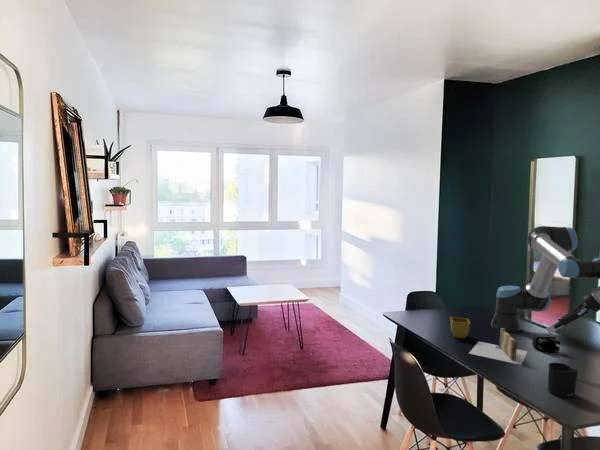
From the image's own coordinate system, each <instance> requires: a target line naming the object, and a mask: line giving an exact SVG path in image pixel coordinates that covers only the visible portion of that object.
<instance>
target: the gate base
mask: <svg viewBox="0 0 600 450" xmlns="http://www.w3.org/2000/svg"><path fill="white" fill-rule="evenodd" d="M527 353H528V350H523V349H518V348H517V350H516V360H512V359H511V358H510V357H509V356H508V355H507V354H506V353H505V352H504V350H503V349H502V348H501V347H499V345H498V344H493V343H488V342H483V341H477V342H476V344H475V345H474V346H473V347H472V349H471V350H470V351H469V352H468V355H469V354H470V355H475V356H477V357H478V356H479V357H484V358H488V359H493V360H497V361H502V362H507V363H510V364H516V365H523V363H524V360H525V358H526V356H527Z"/></svg>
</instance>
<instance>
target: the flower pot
mask: <svg viewBox="0 0 600 450" xmlns="http://www.w3.org/2000/svg"><path fill="white" fill-rule="evenodd" d="M449 320H450V331H451V333H452V336H453V338H456V339H466V337H467V336H468V334H469V331H470V327H471V322H470V320H469V319H468V318H464V317H456V316H455V317H454V316H450V318H449Z"/></svg>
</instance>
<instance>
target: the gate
mask: <svg viewBox="0 0 600 450" xmlns="http://www.w3.org/2000/svg"><path fill="white" fill-rule="evenodd" d="M499 332H500V334H499V347H501V348H502V349H503V350H504V352H505V353H506V354H507V355H508V356H509V357H510V358H511V359H512V360H516V350H517V349H518V341H517V340H515V338H514V337H512V336H511V335H510V334H509V333H508V331H505V328H501V330H499Z"/></svg>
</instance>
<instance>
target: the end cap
mask: <svg viewBox="0 0 600 450" xmlns="http://www.w3.org/2000/svg"><path fill="white" fill-rule="evenodd" d="M531 344H532V348H533V349H534V350H536V351H538V352H539V353H543V354H549V355H551V354H554V355H555V354H557V353H560V352H559V351H560V345H561V341H560V340H559V339H557V338H556V336H533V338H532V340H531ZM558 345H559V346H558Z"/></svg>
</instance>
